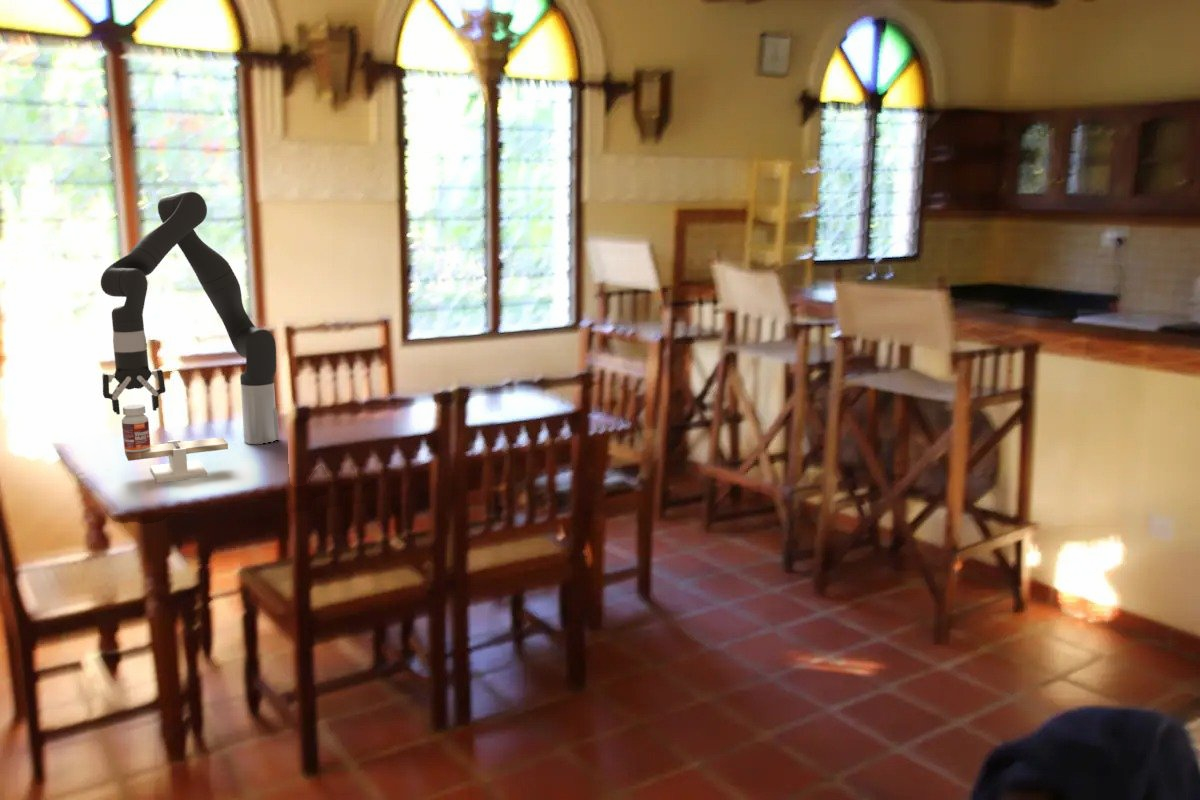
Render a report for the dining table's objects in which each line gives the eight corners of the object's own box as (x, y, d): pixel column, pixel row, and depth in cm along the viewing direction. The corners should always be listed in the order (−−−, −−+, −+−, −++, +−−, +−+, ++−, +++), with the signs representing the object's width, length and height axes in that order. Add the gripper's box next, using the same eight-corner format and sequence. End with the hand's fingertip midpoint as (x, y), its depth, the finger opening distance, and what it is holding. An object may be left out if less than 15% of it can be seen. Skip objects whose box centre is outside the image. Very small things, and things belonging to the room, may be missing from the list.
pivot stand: (198, 463, 282) (196, 436, 280) (207, 476, 270) (205, 448, 268) (150, 469, 276) (148, 441, 274) (157, 482, 264) (155, 453, 263)
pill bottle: (139, 454, 263) (135, 409, 261) (119, 452, 265) (114, 408, 263) (156, 448, 269) (152, 405, 267) (136, 446, 271) (132, 403, 268)
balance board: (222, 443, 281) (222, 436, 281) (228, 449, 274) (227, 443, 274) (125, 454, 270) (124, 447, 269) (128, 461, 263) (127, 454, 262)
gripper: (159, 344, 268) (164, 406, 272) (97, 348, 261) (104, 412, 265) (163, 348, 262) (168, 411, 265) (100, 353, 255) (106, 418, 258)
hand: (136, 412), depth 265 cm, fingers open, 8 cm apart
